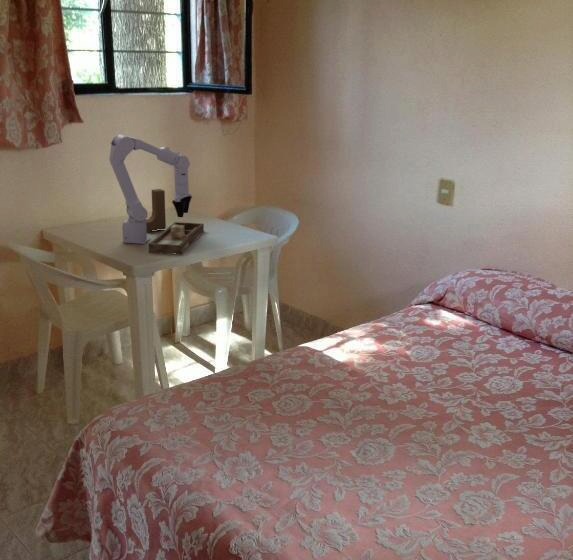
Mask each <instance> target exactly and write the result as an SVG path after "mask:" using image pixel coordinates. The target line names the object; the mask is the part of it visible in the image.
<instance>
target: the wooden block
mask: <svg viewBox="0 0 573 560" xmlns="http://www.w3.org/2000/svg"><path fill="white" fill-rule="evenodd" d="M165 195H166V192H165V190H164V189H161V188H157V189H156V188H155V189H151V209H152V211H151V216H150V217H149V218H148V219H147V218H146V230H147V233H149V232H148V231H152V230H157V229H165V228H166V226H167V224H166V223H167V222H166V199H165V198H166V196H165ZM166 229H167V228H166Z"/></svg>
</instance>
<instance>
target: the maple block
mask: <svg viewBox="0 0 573 560" xmlns="http://www.w3.org/2000/svg"><path fill="white" fill-rule="evenodd" d="M184 236H185V233H184V225H173V226H172V227H171V238H182V237H184Z"/></svg>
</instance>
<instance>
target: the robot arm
mask: <svg viewBox="0 0 573 560" xmlns="http://www.w3.org/2000/svg"><path fill="white" fill-rule="evenodd" d="M139 150H142V151H144V152H147V153H149V154H152V155H155V156H156V158H157V160H158V161H160V162H163V163H164V164H167V165H170V166H173V170H174V171H173V172H174V175H173V176H174V192H175V193H174V199H173V200H172V201H171V203H172V205H173V206H174V209H175V212H176V216H177V217H178V218H183V217H184V214H188V213H189V208H190V205H191V204H190V203H191V200H192V199H193V196H192V194H193V193H190V191H189V190H190V189H189V186H190V185H189V167H190V165H191V162H190V160H189V158H188V157H187V156H186V155H183V154H181V153H180V152H179V151H174V150H172V149H170V147H168V146H161V147H157V146H154V145H152V144H150V143H148V142H146V141H144V140H141V139H140V138H137V137H134V136H129V135H125V134H123V133H118V134H116V135H115V136H114V137H113V138H112V140H111V142H110V151H109V157H108V159H109V163H110V165H111V168H112V170H113V172H114V175H115V177H116V180H117V182H118V185H119V187H120V190H121V192H122V194H123V197H124V199H125V206H126V214H127V215H128V219H124V220H123V222H122V225H121V227H122V228H121V229H122V241H121V242H122V243H126V244H140V245H144V244H146V243H147V242H149V241H150V240H151V237H148V235H147V233H148V232H147V230H146V220H147V218H148V214H149V213H148V210H147V209H146V208H145V206H144V205H142V202H141V201H140V199H139V197H138V194H137V192H136V190H135V187H134V185H133V182H132V179H131V177H130V175H129V172H128V169H127V166H126V164H125V160H126V158H127V156H128V155H130V153H132V151H139Z"/></svg>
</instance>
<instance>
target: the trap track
mask: <svg viewBox="0 0 573 560" xmlns="http://www.w3.org/2000/svg"><path fill="white" fill-rule="evenodd" d="M173 225H184V233H185V236H184V237H182V238H171V227H172V226H173ZM204 225H205V224H204V223H199V222H183V221H182V222H179V221H175V222H173V223H172V224H171V225H170V226H169V227H167V228H166V230H163V231H162V232H161V233H160V234H158V236H156V237H155V238H154V239H153V240H151V241H150V242H149V243H148V253H152V252H162V253H161V254H168V253H176V254H175V255H182V254H183V253H184V252H185V251H186V250H187V249H188V248H189V247H190V246H191V245H192V244H193V243H194V242H195V241H196V240H197V239H198V238H199V237H200V236H201V235H202V234H203V233H204V230H205V226H204ZM200 234H201V235H200ZM199 235H200V236H199ZM198 236H199V237H198ZM197 237H198V238H197ZM196 238H197V239H196Z"/></svg>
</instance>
